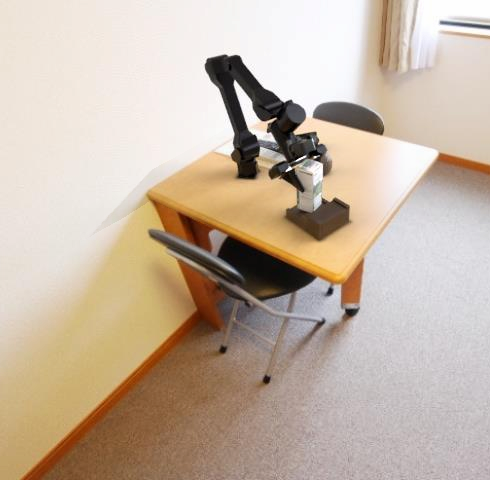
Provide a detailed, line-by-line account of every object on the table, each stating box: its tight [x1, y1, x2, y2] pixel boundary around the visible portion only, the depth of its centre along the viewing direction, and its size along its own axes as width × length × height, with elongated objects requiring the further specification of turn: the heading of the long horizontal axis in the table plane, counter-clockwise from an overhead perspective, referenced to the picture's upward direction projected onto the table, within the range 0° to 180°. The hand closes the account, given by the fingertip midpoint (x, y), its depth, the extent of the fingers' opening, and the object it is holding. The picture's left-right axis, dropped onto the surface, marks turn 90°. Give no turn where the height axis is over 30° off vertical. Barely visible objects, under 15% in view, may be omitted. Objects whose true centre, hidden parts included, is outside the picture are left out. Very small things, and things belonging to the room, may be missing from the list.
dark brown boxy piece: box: [285, 197, 351, 241], centre depth 106 cm, size 15×12×6 cm
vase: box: [320, 151, 333, 176], centre depth 125 cm, size 7×7×9 cm
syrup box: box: [295, 159, 324, 213], centre depth 103 cm, size 6×6×14 cm
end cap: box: [295, 131, 320, 146], centre depth 139 cm, size 10×7×7 cm
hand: (312, 187), depth 102 cm, fingers closed on syrup box, 7 cm apart
